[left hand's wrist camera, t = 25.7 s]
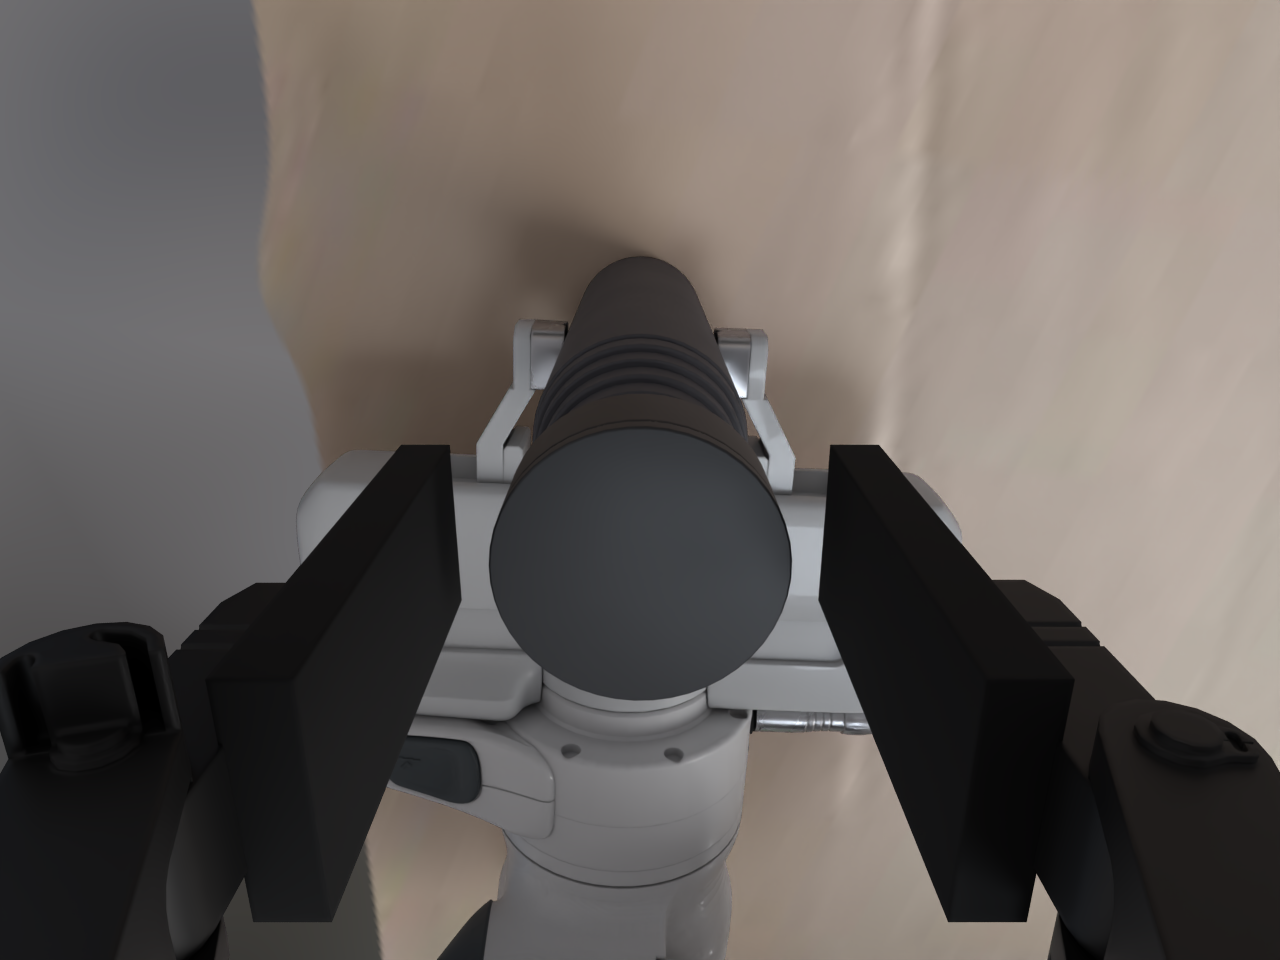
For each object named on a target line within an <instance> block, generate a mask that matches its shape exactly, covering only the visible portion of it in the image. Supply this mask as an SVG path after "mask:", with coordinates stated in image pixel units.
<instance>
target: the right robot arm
mask: <svg viewBox="0 0 1280 960" xmlns="http://www.w3.org/2000/svg"><path fill="white" fill-rule="evenodd" d="M567 334H568V322H567V321H551V320H536V319H519V320H518V322H517V323H516V325H515V329H514V338H513V382H512V384H511V386H510V387H509V389H508V391H507V392H506V394H505V396H504V398H503V399H502V401H501V403H500V404H499V406H498V408H497V409H496V411H495V413H494V414H493V416H492V418H491V420H490V421H489V423H488V425H487V426H486V428H485V430H484V431H483V433H482V435H481V437H480V438H479V440H478V442H477V444H476V454H477V455H474V454H450V457H451V469H452V482H453V495H454V507H455V520H456V533H457V545H458V558H459V571H460V583H461V596H462V601H461V604H460V606H459V608H458V611H457V613H456V616H455V618H454V621H453V623H452V626H451V628H450V631H449V633H448V636H447V638H446V641H445V643H444V646H443V648H442V651H441V653H440V655H439V658H438V660H437V663H436V665H435V668H434V670H433V673H432V675H431V678H430V680H429V683H428V685H427V688H426V690H425V693H424V695H423V698H422V700H421V703H420V705H419V707H418V710H417V712H416V715H415V717H414V720H413V722H412V725H411V727H410V730H409V732H408V735H407V737H406V740H405V742H404V745H403V747H402V750H401V752H400V754H399V757H398V759H397V762H396V764H395V767H394V769H393V772H392V774H391V777H390V779H389V782H388V784H387V787H388V788H391V789H394V790H398V791H401V792H405V793H408V794H411V795H415V796H418V797H421V798H424V799H428V800H431V801H434V802H437V803H440V804H443V805H446V806H449V807H451V808H454V809H457V810H460V811H462V812H465V813H468V814H470V815H472V816H475V817H477V818H480V819H482V820H485V821H487V822H489V823H491V824H493V825H496V826H498V827H500V828H501V829H502V832H503V836H504V839H505V842H506V846H507V857H506V859H505V862H504V864H503V867H502V871H501V875H500V879H499V888H498V896H497V901H492V900H489V901H488V902H487V903H486V904H484V905H483V906H482V907H481V908H480V909H479V910H478V911H477V912H476V913H475V914H474V915H473V916H472V917H471V918H470V919H469V920H468V921H467V923H466V924H465V925H464V926H463V927H462V929H461V930H460V931H459V932H458V934H457V935H456V936H455V937H454V939H453V940H452V941H451V942H450V944H449V945H448V946H447V947H446V949H445V950H444V951H443V953H442V954H441V955H440V956H439V958H438V959H437V960H725V957H726V950H727V943H728V936H729V929H730V921H731V911H732V889H731V882H730V877H729V873H728V869H727V866H726V859H727V857H728V855H729V853H730V851H731V849H732V847H733V845H734V842H735V840H736V837H737V834H738V831H739V826H740V821H741V816H742V807H743V797H744V787H745V777H746V768H747V759H748V749H749V734H752V731H760V732H786V733H800V732H811V731H820V730H821V731H828V730H829V731H837V732H841V733H842V734H847V735H867V734H872V732H871V730H870V727H869V725H868V722H867V720H866V717H865V715H864V712H863V710H862V707H861V705H860V703H859V700H858V698H857V695H856V693H855V690H854V688H853V685H852V683H851V680H850V678H849V675H848V673H847V670H846V668H845V665H844V663H843V660H842V658H841V656H840V653H839V651H838V648H837V646H836V643H835V641H834V638H833V636H832V633H831V631H830V628H829V626H828V623H827V621H826V618H825V616H824V613H823V611H822V609H821V606H820V604H819V601H818V596H819V583H820V571H821V558H822V545H823V532H824V520H825V507H826V494H827V482H828V469H809V468H794V467H795V456H794V453H793V451H792V449H791V447H790V445H789V443H788V441H787V439H786V437H785V435H784V432H783V430H782V428H781V426H780V424H779V422H778V420H777V418H776V416H775V414H774V411H773V409H772V407H771V405H770V403H769V401H768V399H767V397H766V395H765V393H764V390H765V380H766V369H767V358H768V337H767V335H766V333H765V332H764V331H763V330H762V329H737V328H715V329H714V337H715V340H716V342H717V345H718V347H719V349H720V352H721V354H722V356H723V359H724V361H725V364H726V366H727V368H728V371H729V373H730V376H731V378H732V380H733V383H734V385H735V388H736V390H737V392H738V395H739V397H740V398H741V399H742V401H743V403H744V405H745V407H746V410H747V412H748V414H749V416H750V418H751V420H752V422H753V424H754V426H755V428H756V430H757V432H758V434H759V436H760V440H759V439H758V437H757V436H748V444H749V446H750V447H751V448H752V449H753V451H754V452H755V454H756V456H757V457H758V459H759V461H760V462H761V464H762V466H763V468H764V471H765V473H766V476H767V478H768V480H769V483H770V485H771V488H772V490H773V493H774V495H775V498H776V500H777V503H778V505H779V508H780V510H781V513H782V515H783V518H784V520H785V523H786V526H787V530H788V534H789V538H790V543H791V553H792V575H791V582H790V588H789V593H788V597H787V600H786V603H785V606H784V609H783V611H782V614H781V616H780V618H779V620H778V622H777V624H776V626H775V627H774V629H773V631H772V632H771V634H770V635H769V636H768V638H767V639H766V641H765V642H764V644H763V645H762V646H761V647H760V648H759V649H758V650H757V651H756V653H755V654H754V655H753V656H752V657H751V658H750V659H749V660H747V661H746V662H745V663H744V664H743V665H742V666H740V667H739V668H738V669H737V670H735V671H734V672H732V673H731V674H729V675H728V676H726V677H725V678H723V679H721V680H720V681H718V682H716V683H714V684H712V685H710V686H708V687H706V688H703V689H700V690H697V691H695V692H692V693H689V694H686V695H681V696H677V697H673V698H668V699H660V700H650V701H631V700H621V699H613V698H608V697H603V696H599V695H595V694H592V693H589V692H586V691H583V690H580V689H578V688H576V687H573V686H571V685H569V684H567V683H565V682H563V681H561V680H559V679H558V678H556V677H555V676H553V675H551V674H550V673H548V672H547V671H545V670H544V669H543V668H542V667H540V666H539V665H538V664H537V663H535V662H534V661H533V660H532V659H531V658H530V657H529V656H528V655H527V654H526V653H525V652H524V651H523V650H522V649H521V648H520V646H519V645H518V644H517V642H516V641H515V640H514V638H513V637H512V636H511V634H510V633H509V631H508V629H507V627H506V626H505V624H504V622H503V620H502V618H501V617H500V614H499V611H498V609H497V606H496V604H495V601H494V597H493V593H492V589H491V585H490V576H489V549H490V543H491V538H492V533H493V528H494V526H495V523H496V520H497V517H498V515H499V512H500V509H501V507H502V505H503V502H504V499H505V497H506V494H507V492H508V489H509V487H510V484H511V482H512V479H513V477H514V474H515V472H516V470H517V468H518V466H519V464H520V462H521V460H522V458H523V456H524V455H525V453H526V452H527V451H528V449H529V448H530V447H531V430H530V429H529V428H528V427H526V426H516V427H515V428H514V429H513V427H514V425H515V424H516V422H517V420H518V419H519V417H520V415H521V414H522V412H523V410H524V408H525V407H526V405H527V403H528V402H529V400H530V398H531V397H532V395H533V393H534V392H535V390H536V389H545V386H546V384H547V381H548V379H549V377H550V374H551V372H552V369H553V367H554V365H555V362H556V360H557V357H558V355H559V353H560V350H561V348H562V346H563V343H564V341H565V338H566V336H567ZM395 452H396V451H378V450H352V451H348V452H346V453H344V454H343V455H341V456H340V457H339V458H338V459H337V460H335V461H334V462H333V463H332V464H331V465H330V466H329V467H327V468H326V469H325V470H324V471H323V472H322V473H321V474H320V475H319V476H318V477H317V479H316V480H315V481H314V482H313V483H312V484H311V486H310V487H309V488H308V490H307V491H306V492H305V494H304V495H303V497H302V499H301V501H300V503H299V506H298V510H297V516H296V527H297V541H298V550H299V558H300V565H301V564H302V563H303V562H304V560H305V559H306V558H307V557H308V556H309V554H310V553H311V552H312V551H313V550H314V548H315V547H316V546H317V545H318V544H319V542H320V541H321V540H322V539H323V538H324V536H325V535H326V534H327V533H328V532H329V531H330V529H331V528H332V527H333V526H334V525H335V523H336V522H337V521H338V520H339V519H340V517H341V516H342V515H343V514H344V513H345V511H346V510H347V509H348V508H349V507H350V505H351V504H352V503H353V502H354V501H355V499H356V498H357V497H358V496H359V495H360V493H361V492H362V491H363V490H364V489H365V488H366V486H367V485H368V484H369V483H370V482H371V480H372V479H373V478H374V477H375V476H376V474H377V473H378V472H379V471H380V470H381V468H382V467H383V466H384V465H385V464H386V462H387V461H388V460H389V459H390V458H391V456H392V455H393V454H394V453H395ZM902 473H903V474H904V476H905V477H906V478H907V479H908V480H909V482H910V483H911V484H912V485H913V486H914V488H915V489H916V490H917V491H918V492H919V493H920V495H921V496H922V497H923V498H924V499H925V501H926V502H927V503H928V504H929V505H930V507H931V508H932V509H933V510H934V511H935V513H936V514H937V515H938V516H939V517H940V519H941V520H942V521H943V522H944V523H945V525H946V526H947V527H948V528H949V529H950V531H951V532H952V533H953V534H954V535H955V537H956V538H957V539H958V540H959V541H960V542H961V544H962V533H961V529H960V527H959V524H958V522H957V520H956V519H955V517H954V515H953V514H952V512H951V511H950V509H949V508H948V507H947V505H946V504H945V502H944V501H943V500H942V499H941V498H940V496H939V495H938V494H937V493H936V492H935V491H934V490H933V489H932V488H931V487H930V486H929V485H928V484H927V483H926V482H925V481H924V480H923V479H922V478H920V477H919V476H917V475H915V474H912V473H905V472H902Z"/></svg>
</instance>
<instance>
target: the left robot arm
mask: <svg viewBox="0 0 1280 960" xmlns="http://www.w3.org/2000/svg"><path fill="white" fill-rule="evenodd" d="M461 601H462V596H461V583H460V571H459V558H458V545H457V533H456V520H455V507H454V495H453V482H452V469H451V457H450V445H401V446H400V447H399V448H398V449H397V450H396V452H395V453H394V454H393V455H392V456H391V458H390V459H389V460H388V461H387V462H386V464H385V465H384V466H383V467H382V468H381V470H380V471H379V472H378V473H377V474H376V476H375V477H374V478H373V479H372V480H371V482H370V483H369V484H368V485H367V486H366V488H365V489H364V490H363V491H362V492H361V493H360V495H359V496H358V497H357V498H356V499H355V501H354V502H353V503H352V504H351V505H350V507H349V508H348V509H347V510H346V511H345V513H344V514H343V515H342V516H341V517H340V519H339V520H338V521H337V522H336V523H335V525H334V526H333V527H332V528H331V529H330V531H329V532H328V533H327V534H326V535H325V536H324V538H323V539H322V540H321V541H320V542H319V544H318V545H317V546H316V547H315V548H314V550H313V551H312V552H311V553H310V554H309V556H308V557H307V558H306V559H305V560H304V562H303V563H302V564H301V565H300V566H299V568H298V569H297V570H296V571H295V572H294V574H293V575H292V576H291V577H290V578H289V580H288V581H287V582H286V583H255V584H253V585H251V586H250V587H248V588H246V589H244V590H242V591H241V592H239V593H237V594H235V595H233V596H232V597H230V598H228V599H226V600H225V601H223V602H221V603H220V604H219V605H218V606H217V607H216V608H215V609H214V610H213V611H212V613H211V614H210V615H209V616H208V617H207V618H206V619H205V620H204V621H203V622H202V623H201V624H200V625H199V630H194V632H193V633H192V634H191V635H190V636H189V637H188V638H187V639H186V640H185V641H184V642H183V643H182V644H181V650H176V651H175V652H174V653H173V654H172V655H171V656H170V657H169V658H168V656H167V652H166V647H165V642H164V638H163V635H162V634H160V633H159V632H158V631H156V630H155V629H153V628H152V627H150V626H147V625H141V624H135V623H129V622H117V623H98V624H92V625H87V626H82V627H77V628H72V629H68V630H63V631H60V632H57V633H54V634H51V635H49V636H46V637H43V638H40V639H38V640H35V641H32V642H29V643H27V644H25V645H24V646H22V647H20V648H18V649H16V650H15V651H13V652H11V653H9V654H7V655H5V656H4V657H2V658H1V659H0V732H1V736H2V739H3V742H4V745H5V749H6V752H7V755H8V761H7V763H6V765H5V766H4V768H3V770H2V772H1V773H0V960H229V956H230V953H229V945H228V937H227V932H226V927H225V922H224V918H223V914H224V912H225V911H226V909H227V907H228V905H229V903H230V901H231V900H232V898H233V896H234V894H235V892H236V891H237V889H238V887H239V885H240V883H241V882H242V880H243V878H245V883H246V888H247V893H248V897H249V903H250V908H251V912H252V918H253V922H332V920H333V918H334V915H335V913H336V910H337V908H338V905H339V903H340V900H341V898H342V895H343V893H344V891H345V888H346V886H347V883H348V881H349V878H350V876H351V873H352V871H353V868H354V866H355V863H356V861H357V858H358V856H359V853H360V851H361V848H362V846H363V843H364V841H365V839H366V836H367V834H368V831H369V829H370V826H371V824H372V821H373V819H374V816H375V814H376V811H377V809H378V806H379V804H380V801H381V799H382V797H383V794H384V792H385V789H386V787H387V784H388V782H389V779H390V777H391V774H392V772H393V769H394V767H395V764H396V762H397V759H398V757H399V754H400V752H401V750H402V747H403V745H404V742H405V740H406V737H407V735H408V732H409V730H410V727H411V725H412V722H413V720H414V717H415V715H416V712H417V710H418V707H419V705H420V703H421V700H422V698H423V695H424V693H425V690H426V688H427V685H428V683H429V680H430V678H431V675H432V673H433V670H434V668H435V665H436V663H437V660H438V658H439V655H440V653H441V651H442V648H443V646H444V643H445V641H446V638H447V636H448V633H449V631H450V628H451V626H452V623H453V621H454V618H455V616H456V613H457V611H458V608H459V606H460V604H461ZM818 601H819V604H820V606H821V609H822V611H823V613H824V616H825V618H826V621H827V623H828V626H829V628H830V631H831V633H832V636H833V638H834V641H835V643H836V646H837V648H838V651H839V653H840V656H841V658H842V660H843V663H844V665H845V668H846V670H847V673H848V675H849V678H850V680H851V683H852V685H853V688H854V690H855V693H856V695H857V698H858V700H859V703H860V705H861V707H862V710H863V712H864V715H865V717H866V720H867V722H868V725H869V727H870V730H871V732H872V735H873V737H874V740H875V742H876V745H877V747H878V750H879V752H880V754H881V757H882V759H883V762H884V764H885V767H886V769H887V772H888V774H889V777H890V779H891V782H892V784H893V787H894V789H895V792H896V794H897V797H898V799H899V801H900V804H901V806H902V809H903V811H904V814H905V816H906V819H907V821H908V824H909V826H910V829H911V831H912V834H913V836H914V839H915V841H916V844H917V846H918V848H919V851H920V853H921V856H922V858H923V861H924V863H925V866H926V868H927V871H928V873H929V876H930V878H931V881H932V883H933V886H934V888H935V891H936V893H937V895H938V898H939V900H940V903H941V905H942V908H943V910H944V913H945V915H946V918H947V920H948V922H1027V918H1028V913H1029V908H1030V903H1031V898H1032V893H1033V888H1034V883H1035V878H1036V873H1037V875H1038V877H1039V879H1040V881H1041V882H1042V884H1043V886H1044V888H1045V890H1046V891H1047V893H1048V895H1049V897H1050V899H1051V900H1052V902H1053V904H1054V906H1055V908H1056V909H1057V911H1058V913H1057V918H1056V922H1055V927H1054V932H1053V936H1052V941H1051V946H1050V950H1049V955H1048V960H1280V772H1279V770H1278V768H1277V766H1276V765H1275V763H1274V761H1273V759H1272V758H1271V757H1270V755H1269V754H1268V753H1267V752H1266V751H1265V750H1264V749H1263V748H1262V746H1261V745H1260V744H1259V743H1258V742H1257V741H1256V740H1255V739H1254V738H1253V737H1251V736H1249V735H1248V734H1246V733H1245V732H1243V731H1242V730H1240V729H1239V728H1237V727H1236V726H1234V725H1233V724H1231V723H1230V722H1228V721H1225V720H1223V719H1221V718H1218V717H1216V716H1213V715H1211V714H1209V713H1206V712H1204V711H1202V710H1199V709H1197V708H1192V707H1188V706H1184V705H1180V704H1176V703H1172V702H1168V701H1160V700H1155V699H1154V698H1153V697H1152V696H1151V695H1150V694H1149V693H1148V692H1147V691H1146V689H1145V688H1144V687H1143V686H1142V685H1141V684H1140V683H1139V682H1138V681H1137V680H1136V679H1135V678H1134V677H1133V676H1132V675H1131V674H1130V673H1129V672H1128V671H1127V670H1126V669H1125V667H1124V666H1123V665H1122V664H1121V663H1120V662H1119V661H1118V660H1117V659H1116V658H1115V657H1114V656H1113V655H1112V654H1111V653H1110V652H1109V651H1108V650H1107V649H1106V648H1105V647H1104V646H1100V641H1099V640H1098V639H1097V638H1096V637H1095V636H1094V635H1093V634H1092V633H1091V632H1090V631H1089V630H1088V629H1087V628H1086V627H1082V626H1081V621H1080V620H1079V619H1078V618H1077V617H1076V616H1075V615H1074V614H1073V613H1072V612H1071V611H1070V610H1069V609H1068V608H1067V607H1066V606H1065V605H1064V604H1063V602H1062V601H1061V600H1060V599H1058V598H1056V597H1054V596H1053V595H1051V594H1049V593H1047V592H1045V591H1044V590H1042V589H1040V588H1038V587H1036V586H1035V585H1033V584H1031V583H1029V582H1027V581H1026V580H991V578H990V577H989V576H988V575H987V574H986V572H985V571H984V570H983V569H982V568H981V566H980V565H979V564H978V563H977V562H976V560H975V559H974V558H973V557H972V556H971V554H970V553H969V552H968V551H967V550H966V548H965V547H964V546H963V545H962V544H961V542H960V541H959V540H958V539H957V538H956V537H955V535H954V534H953V533H952V532H951V531H950V529H949V528H948V527H947V526H946V525H945V523H944V522H943V521H942V520H941V519H940V517H939V516H938V515H937V514H936V513H935V511H934V510H933V509H932V508H931V507H930V505H929V504H928V503H927V502H926V501H925V499H924V498H923V497H922V496H921V495H920V493H919V492H918V491H917V490H916V489H915V488H914V486H913V485H912V484H911V483H910V482H909V480H908V479H907V478H906V477H905V476H904V474H903V473H902V472H901V471H900V470H899V468H898V467H897V466H896V465H895V464H894V462H893V461H892V460H891V459H890V458H889V456H888V455H887V454H886V453H885V452H884V450H883V449H882V448H881V447H880V446H879V445H830V456H829V469H828V482H827V494H826V507H825V520H824V532H823V545H822V558H821V571H820V583H819V596H818Z"/></svg>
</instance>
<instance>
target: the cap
mask: <svg viewBox="0 0 1280 960" xmlns="http://www.w3.org/2000/svg"><path fill="white" fill-rule="evenodd" d="M791 575H792V553H791V543H790V538H789V534H788V530H787V526H786V523H785V520H784V518H783V515H782V513H781V510H780V508H779V505H778V503H777V500H776V498H775V495H774V493H773V490H772V488H771V485H770V483H769V480H768V478H767V476H766V473H765V471H764V468H763V466H762V464H761V462H760V461H759V459H758V457H757V456H756V454H755V452H754V451H753V449H752V448H751V447H750V446H749V444H748V443H747V442H746V441H745V439H744V438H743V437H742V436H741V435H740V434H739V433H738V432H737V431H736V430H735V429H734V428H733V427H732V426H731V425H729V424H728V423H726V422H725V421H724V420H722V419H721V418H720V417H718V416H717V415H715V414H713V413H711V412H710V411H708V410H706V409H704V408H702V407H700V406H698V405H695V404H693V403H690V402H687V401H685V400H682V399H677V398H673V397H669V396H665V395H655V394H624V395H618V396H611V397H607V398H603V399H600V400H596V401H593V402H590V403H588V404H586V405H583V406H581V407H579V408H576V409H574V410H573V411H571V412H569V413H568V414H566V415H564V416H563V417H561V418H559V419H558V420H557V421H556V422H554V423H553V424H552V425H551V426H549V427H548V428H547V429H546V430H545V431H544V432H543V433H542V434H541V435H540V436H539V437H538V438H537V439H536V440H535V441H534V442H533V444H532V445H531V447H530V448H529V449H528V451H527V452H526V453H525V455H524V456H523V458H522V460H521V462H520V464H519V466H518V468H517V470H516V472H515V474H514V477H513V479H512V482H511V484H510V487H509V489H508V492H507V494H506V497H505V499H504V502H503V505H502V507H501V509H500V512H499V515H498V517H497V520H496V523H495V526H494V528H493V533H492V538H491V543H490V549H489V576H490V585H491V589H492V593H493V597H494V601H495V604H496V606H497V609H498V611H499V614H500V617H501V618H502V620H503V622H504V624H505V626H506V627H507V629H508V631H509V633H510V634H511V636H512V637H513V638H514V640H515V641H516V642H517V644H518V645H519V646H520V648H521V649H522V650H523V651H524V652H525V653H526V654H527V655H528V656H529V657H530V658H531V659H532V660H533V661H534V662H535V663H537V664H538V665H539V666H540V667H542V668H543V669H544V670H545V671H547V672H548V673H550V674H551V675H553V676H555V677H556V678H558V679H559V680H561V681H563V682H565V683H567V684H569V685H571V686H573V687H576V688H578V689H580V690H583V691H586V692H589V693H592V694H595V695H599V696H603V697H608V698H613V699H621V700H631V701H650V700H660V699H668V698H673V697H677V696H681V695H686V694H689V693H692V692H695V691H697V690H700V689H703V688H706V687H708V686H710V685H712V684H714V683H716V682H718V681H720V680H721V679H723V678H725V677H726V676H728V675H729V674H731V673H732V672H734V671H735V670H737V669H738V668H739V667H740V666H742V665H743V664H744V663H745V662H746V661H747V660H749V659H750V658H751V657H752V656H753V655H754V654H755V653H756V651H757V650H758V649H759V648H760V647H761V646H762V645H763V644H764V642H765V641H766V639H767V638H768V636H769V635H770V634H771V632H772V631H773V629H774V627H775V626H776V624H777V622H778V620H779V618H780V616H781V614H782V611H783V609H784V606H785V603H786V600H787V597H788V593H789V588H790V582H791Z"/></svg>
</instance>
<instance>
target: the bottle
mask: <svg viewBox="0 0 1280 960" xmlns="http://www.w3.org/2000/svg"><path fill="white" fill-rule="evenodd" d="M624 394H655V395H665V396H669V397H673V398H677V399H682V400H685V401H687V402H690V403H693V404H695V405H698V406H700V407H702V408H704V409H706V410H708V411H710V412H711V413H713V414H715V415H717V416H718V417H720V418H721V419H722V420H724V421H725V422H726V423H728V424H729V425H731V426H732V427H733V428H734V429H735V430H736V431H737V432H738V433H739V434H740V435H741V436H742V437H743V438H744V439H745V441H746V442H747V443H748V435H747V423H746V416H745V412H744V409H743V405H742V402H741V399H740V397H739V395H738V392H737V390H736V388H735V385H734V383H733V380H732V378H731V376H730V373H729V371H728V368H727V366H726V364H725V361H724V359H723V356H722V354H721V352H720V349H719V347H718V345H717V342H716V340H715V337H714V335H713V333H712V330H711V328H710V325H709V323H708V321H707V318H706V316H705V313H704V311H703V309H702V306H701V304H700V302H699V299H698V297H697V294H696V292H695V290H694V288H693V286H692V285H691V283H690V282H689V281H688V279H687V278H686V277H685V276H684V275H683V274H682V273H681V272H680V271H679V270H678V269H676V268H675V267H673V266H672V265H670V264H668V263H666V262H664V261H661V260H659V259H655V258H651V257H630V258H625V259H622V260H619V261H616V262H614V263H612V264H610V265H608V266H607V267H606V268H604V269H603V270H602V271H600V272H599V273H598V274H597V275H596V276H595V277H594V279H593V280H592V281H591V282H590V284H589V285H588V287H587V289H586V291H585V293H584V295H583V298H582V300H581V302H580V305H579V307H578V310H577V312H576V314H575V317H574V319H573V322H572V324H571V326H570V329H569V331H568V334H567V336H566V338H565V341H564V343H563V346H562V348H561V350H560V353H559V355H558V357H557V360H556V362H555V365H554V367H553V369H552V372H551V374H550V377H549V379H548V381H547V384H546V386H545V389H544V391H543V393H542V396H541V398H540V401H539V404H538V407H537V410H536V414H535V420H534V426H533V442H534V441H535V440H536V439H537V438H538V437H539V436H540V435H541V434H542V433H543V432H544V431H545V430H546V429H547V428H548V427H549V426H551V425H552V424H553V423H554V422H556V421H557V420H558V419H559V418H561V417H563V416H564V415H566V414H568V413H569V412H571V411H573V410H574V409H576V408H579V407H581V406H583V405H586V404H588V403H590V402H593V401H596V400H600V399H603V398H607V397H611V396H618V395H624Z"/></svg>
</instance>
